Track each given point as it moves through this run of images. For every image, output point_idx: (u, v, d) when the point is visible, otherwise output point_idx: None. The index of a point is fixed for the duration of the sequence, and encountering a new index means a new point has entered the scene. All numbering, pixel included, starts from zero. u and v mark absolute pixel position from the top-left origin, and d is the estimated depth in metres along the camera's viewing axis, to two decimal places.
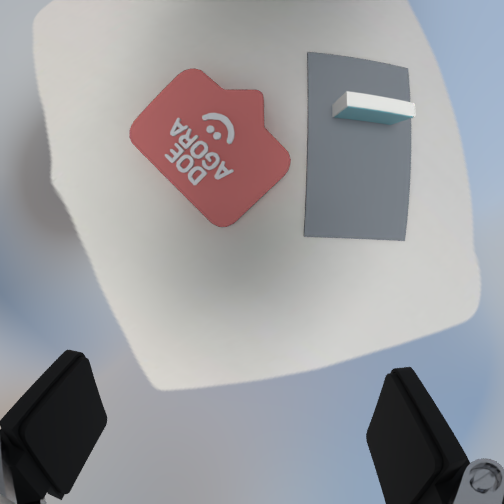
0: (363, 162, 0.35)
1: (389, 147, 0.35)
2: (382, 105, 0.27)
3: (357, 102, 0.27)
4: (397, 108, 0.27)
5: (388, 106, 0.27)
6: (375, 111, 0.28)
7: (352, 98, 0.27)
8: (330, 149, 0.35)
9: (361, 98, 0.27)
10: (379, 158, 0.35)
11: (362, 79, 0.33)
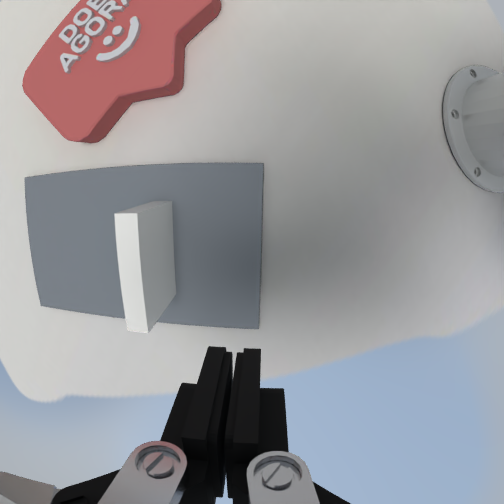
0: (102, 248, 0.25)
1: None
2: (127, 276, 0.18)
3: (122, 232, 0.18)
4: (130, 301, 0.19)
5: (128, 286, 0.18)
6: None
7: (126, 223, 0.17)
8: (110, 199, 0.24)
9: (130, 239, 0.18)
10: (111, 272, 0.26)
11: (222, 251, 0.25)
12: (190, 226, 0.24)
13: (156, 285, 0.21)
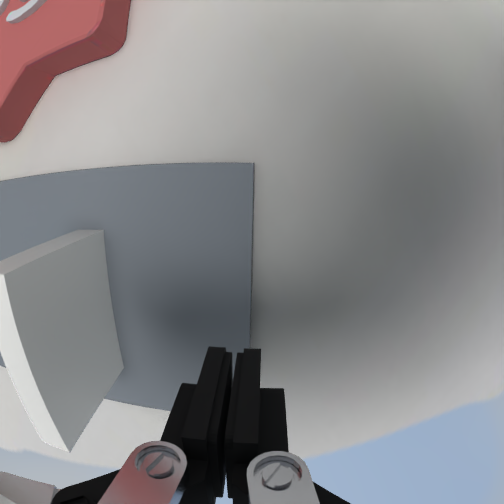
0: None
1: None
2: (17, 375, 0.08)
3: None
4: (32, 410, 0.08)
5: (23, 389, 0.08)
6: None
7: None
8: (24, 225, 0.14)
9: (4, 319, 0.07)
10: None
11: (186, 313, 0.15)
12: (132, 272, 0.14)
13: (77, 377, 0.11)
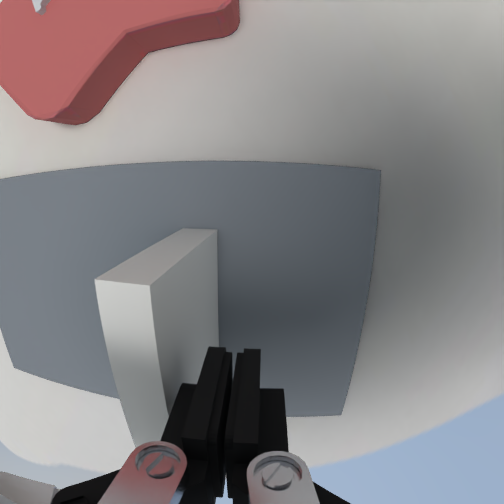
0: (93, 302, 0.15)
1: None
2: (136, 404, 0.08)
3: (116, 323, 0.07)
4: (145, 440, 0.08)
5: (141, 419, 0.08)
6: None
7: (125, 305, 0.07)
8: (103, 222, 0.14)
9: (135, 341, 0.07)
10: None
11: (303, 316, 0.14)
12: (250, 275, 0.14)
13: None
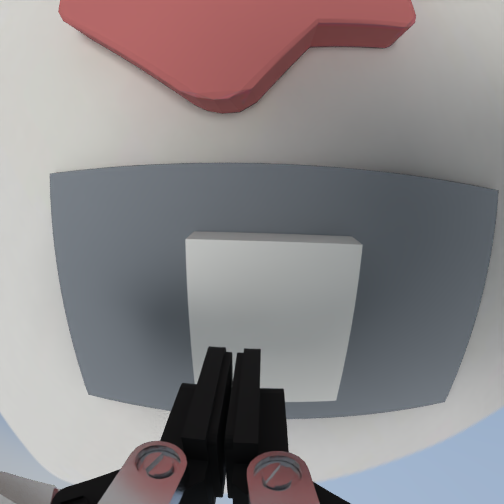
0: None
1: None
2: None
3: None
4: None
5: None
6: None
7: None
8: (261, 227, 0.13)
9: None
10: None
11: (439, 314, 0.14)
12: (406, 280, 0.14)
13: None
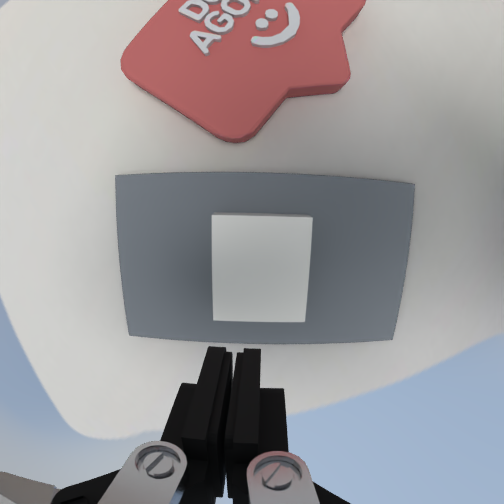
0: None
1: None
2: None
3: None
4: None
5: None
6: None
7: None
8: (254, 209, 0.23)
9: None
10: None
11: (374, 268, 0.24)
12: (346, 242, 0.23)
13: (247, 291, 0.22)
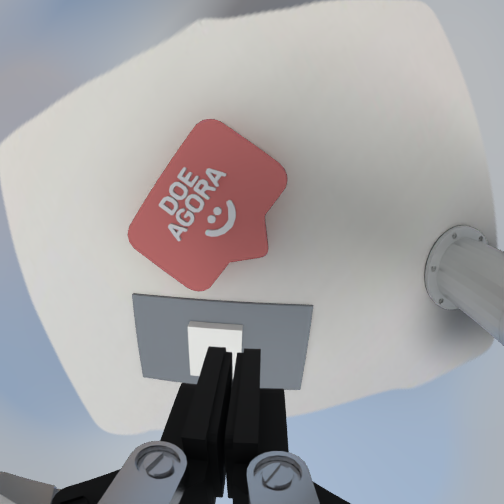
0: None
1: None
2: None
3: None
4: None
5: None
6: None
7: None
8: (212, 320, 0.40)
9: None
10: None
11: (284, 352, 0.41)
12: (266, 339, 0.40)
13: None
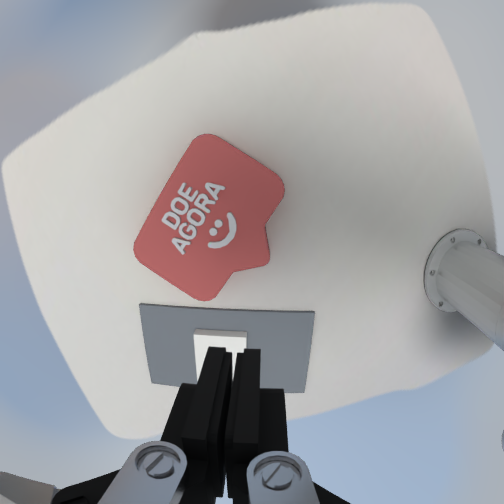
0: None
1: None
2: None
3: None
4: None
5: None
6: None
7: None
8: (217, 328, 0.41)
9: None
10: None
11: (287, 357, 0.42)
12: (269, 344, 0.41)
13: None
